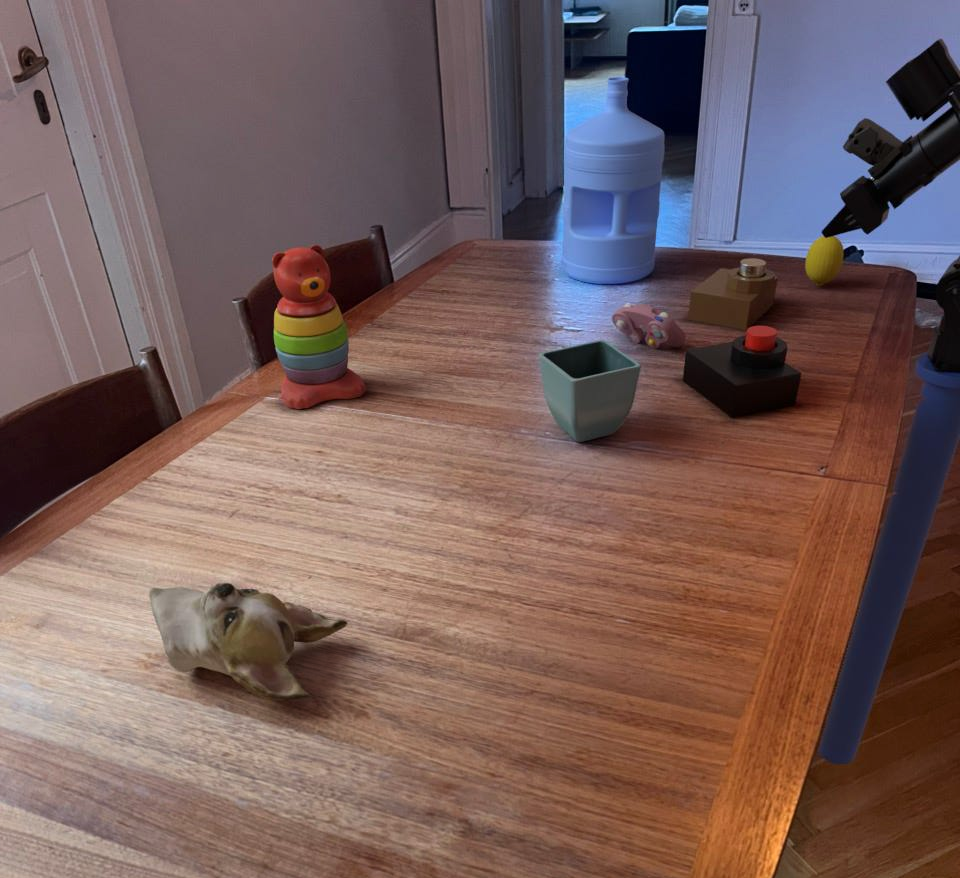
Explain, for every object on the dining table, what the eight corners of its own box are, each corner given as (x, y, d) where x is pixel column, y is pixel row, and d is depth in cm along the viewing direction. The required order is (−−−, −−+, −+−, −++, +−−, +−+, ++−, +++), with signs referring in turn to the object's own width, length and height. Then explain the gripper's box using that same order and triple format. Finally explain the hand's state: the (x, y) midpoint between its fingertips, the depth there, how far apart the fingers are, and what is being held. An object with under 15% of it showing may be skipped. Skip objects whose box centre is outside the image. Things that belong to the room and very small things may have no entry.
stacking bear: (289, 412, 116) (264, 267, 105) (270, 383, 123) (244, 245, 112) (370, 395, 119) (354, 253, 108) (346, 368, 126) (329, 232, 115)
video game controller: (614, 348, 133) (603, 310, 127) (632, 325, 134) (622, 288, 128) (672, 364, 127) (663, 327, 122) (690, 341, 128) (682, 303, 123)
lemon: (808, 278, 149) (818, 226, 144) (842, 284, 146) (853, 231, 141) (795, 288, 145) (805, 235, 140) (830, 294, 143) (841, 240, 138)
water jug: (553, 259, 161) (557, 74, 143) (641, 254, 162) (655, 68, 144) (570, 288, 149) (576, 89, 131) (664, 282, 150) (683, 84, 132)
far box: (779, 305, 140) (786, 265, 136) (752, 331, 132) (759, 289, 128) (717, 295, 144) (722, 256, 140) (687, 320, 136) (692, 278, 133)
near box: (748, 368, 122) (755, 323, 118) (802, 404, 113) (811, 357, 109) (682, 380, 120) (687, 335, 116) (731, 418, 111) (738, 370, 107)
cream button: (767, 274, 134) (769, 260, 133) (758, 281, 132) (761, 267, 131) (743, 271, 136) (745, 256, 134) (734, 278, 133) (736, 263, 132)
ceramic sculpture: (176, 536, 77) (345, 563, 75) (194, 616, 83) (352, 643, 80) (110, 613, 69) (297, 645, 67) (135, 695, 75) (308, 728, 73)
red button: (763, 339, 115) (766, 323, 114) (780, 350, 112) (783, 333, 111) (738, 344, 114) (741, 328, 113) (754, 354, 111) (757, 338, 110)
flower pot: (570, 454, 105) (573, 380, 99) (536, 424, 111) (537, 352, 105) (637, 438, 107) (643, 364, 102) (600, 409, 114) (603, 338, 108)
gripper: (913, 84, 119) (811, 170, 130) (876, 109, 107) (767, 201, 118) (959, 157, 120) (854, 235, 132) (928, 190, 108) (816, 272, 120)
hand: (823, 234), depth 125 cm, fingers closed
